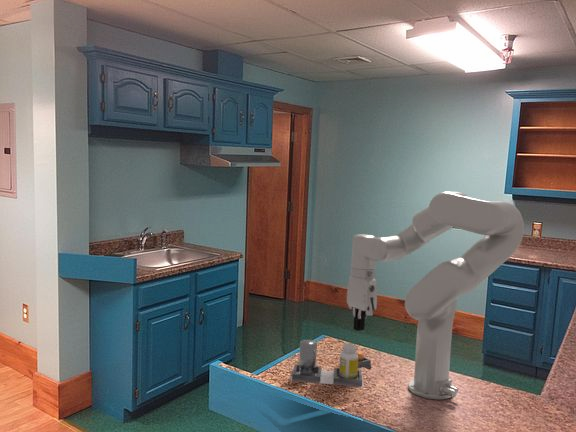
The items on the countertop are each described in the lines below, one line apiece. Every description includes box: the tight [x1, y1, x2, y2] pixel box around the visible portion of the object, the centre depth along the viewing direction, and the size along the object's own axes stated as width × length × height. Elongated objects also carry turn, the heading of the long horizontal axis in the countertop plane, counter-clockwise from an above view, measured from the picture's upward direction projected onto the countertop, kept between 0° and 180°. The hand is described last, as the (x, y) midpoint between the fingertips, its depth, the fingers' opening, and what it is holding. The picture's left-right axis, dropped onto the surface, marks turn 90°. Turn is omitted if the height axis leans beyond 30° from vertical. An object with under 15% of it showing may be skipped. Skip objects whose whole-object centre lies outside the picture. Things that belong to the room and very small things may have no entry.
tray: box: [290, 363, 365, 388], centre depth 146 cm, size 21×10×3 cm, turn 84°
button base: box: [358, 356, 372, 370], centre depth 159 cm, size 6×6×3 cm
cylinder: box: [298, 339, 318, 375], centre depth 146 cm, size 5×5×10 cm
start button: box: [355, 350, 365, 361], centre depth 159 cm, size 4×4×2 cm
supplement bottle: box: [338, 343, 359, 379], centre depth 145 cm, size 5×5×10 cm
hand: (358, 329), depth 158 cm, fingers closed
